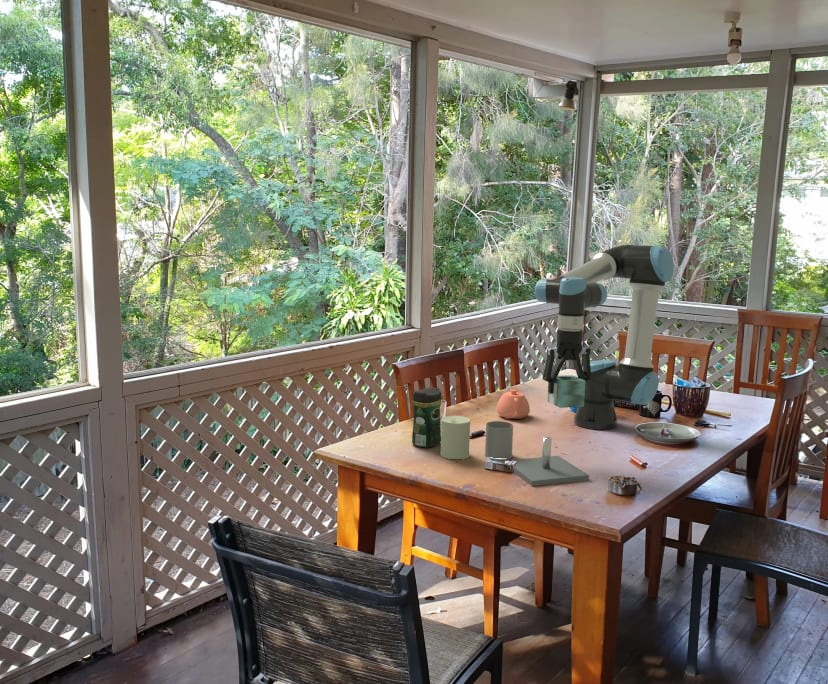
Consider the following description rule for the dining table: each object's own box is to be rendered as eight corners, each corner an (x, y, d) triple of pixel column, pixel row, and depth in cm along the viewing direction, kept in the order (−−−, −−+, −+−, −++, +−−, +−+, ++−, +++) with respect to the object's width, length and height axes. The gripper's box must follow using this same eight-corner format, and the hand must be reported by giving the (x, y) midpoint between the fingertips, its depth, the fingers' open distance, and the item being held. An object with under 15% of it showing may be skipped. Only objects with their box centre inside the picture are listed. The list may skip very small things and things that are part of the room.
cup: (484, 451, 243) (485, 420, 242) (510, 451, 243) (511, 421, 241) (485, 459, 235) (487, 428, 233) (512, 460, 235) (514, 429, 233)
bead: (570, 400, 238) (572, 375, 237) (583, 406, 231) (585, 380, 230) (547, 401, 236) (548, 376, 235) (560, 407, 228) (561, 381, 227)
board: (558, 460, 236) (558, 455, 235) (588, 480, 219) (589, 475, 218) (504, 465, 230) (504, 460, 230) (531, 486, 213) (532, 480, 213)
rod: (547, 466, 226) (549, 436, 224) (551, 468, 223) (553, 438, 222) (540, 466, 225) (541, 437, 223) (544, 469, 223) (545, 439, 221)
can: (435, 457, 236) (436, 419, 234) (445, 449, 245) (446, 412, 243) (464, 461, 233) (465, 423, 231) (473, 452, 241) (474, 415, 239)
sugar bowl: (526, 412, 291) (527, 386, 289) (533, 422, 277) (534, 395, 275) (494, 412, 291) (495, 385, 289) (499, 422, 277) (500, 394, 275)
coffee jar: (424, 438, 256) (426, 384, 252) (444, 443, 251) (446, 387, 248) (407, 445, 248) (408, 389, 245) (427, 450, 243) (428, 393, 240)
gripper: (544, 331, 223) (540, 407, 227) (607, 330, 229) (602, 404, 233) (533, 328, 230) (529, 401, 234) (594, 326, 236) (589, 398, 240)
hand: (565, 403), depth 233 cm, fingers closed on bead, 8 cm apart
